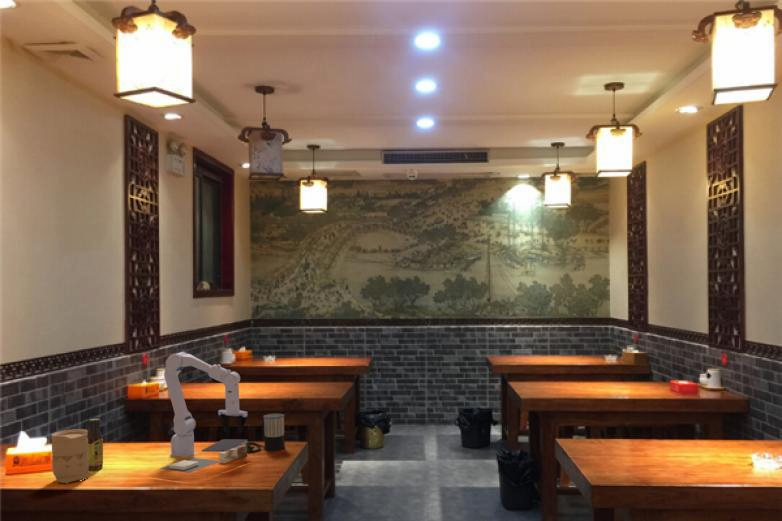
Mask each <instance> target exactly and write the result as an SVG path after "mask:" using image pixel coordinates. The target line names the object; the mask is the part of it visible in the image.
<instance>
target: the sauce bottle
mask: <svg viewBox="0 0 782 521" xmlns="http://www.w3.org/2000/svg"><path fill="white" fill-rule="evenodd" d="M88 423H89V432H87V434H88V435H87V439H88V471H95V470H96V471H97V470H100V469H102V468H103V464H104V438H103V435H102V433H101V429H100V423H101V420H100V418H92V419H91V418H90V419H89V421H88Z"/></svg>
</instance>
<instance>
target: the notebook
mask: <svg viewBox="0 0 782 521" xmlns="http://www.w3.org/2000/svg"><path fill="white" fill-rule="evenodd" d="M247 443H248V439H244V438H243V439H234V438H232V439H231V438H229V439H226V438H225V439H220V440H219V441H216V442H214V443H213V444H211V445H209V446H207V447H205V448H203V449H201V450H200V451H201V452H216V453H221V452H224V451H227V450H229V449H232V448H235V447H238V446H241V445H244V444H245V445H246V444H247Z"/></svg>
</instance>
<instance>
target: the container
mask: <svg viewBox="0 0 782 521" xmlns="http://www.w3.org/2000/svg"><path fill="white" fill-rule="evenodd" d="M87 435H88V430H87V429H82V428H81V429H80V428H77V429H73V428H72V429H65V430H60V431H56V432H53V433H51V455H52V457H51V465H52V467H51V468H52V474H53V476H54V478H55V479H56V481H57V483H59V482H60V483H59V484H63V483H69V482H71V483H73V482H77V481H79V480H83V479H85V478H87V479H88V478H89V470H88V439H87ZM76 480H77V481H76Z"/></svg>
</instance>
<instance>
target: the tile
mask: <svg viewBox="0 0 782 521" xmlns="http://www.w3.org/2000/svg"><path fill="white" fill-rule="evenodd" d="M198 465H199V462H196V461H187V459H184V460H180V461H177V462H174V463H171V464H169V465H168V466H169V468H170V469H177V470H187V469H190V468H193V467H196V466H198Z"/></svg>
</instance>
